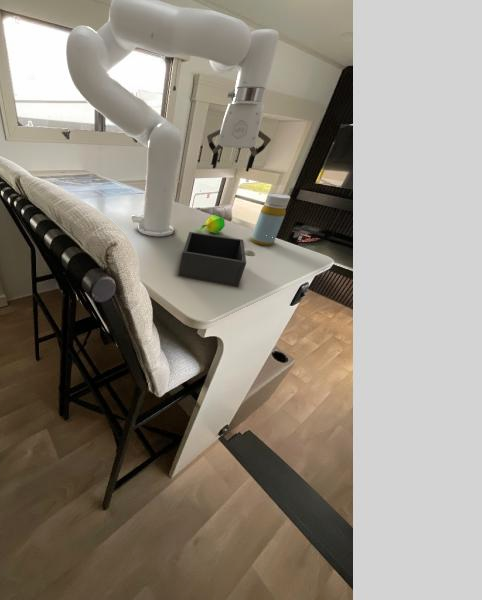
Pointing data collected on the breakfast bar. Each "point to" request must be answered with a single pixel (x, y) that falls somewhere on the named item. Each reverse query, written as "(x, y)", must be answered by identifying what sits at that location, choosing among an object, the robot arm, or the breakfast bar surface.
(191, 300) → the breakfast bar surface
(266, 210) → the bottle
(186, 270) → the bin
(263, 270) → the breakfast bar surface
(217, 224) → the apple
